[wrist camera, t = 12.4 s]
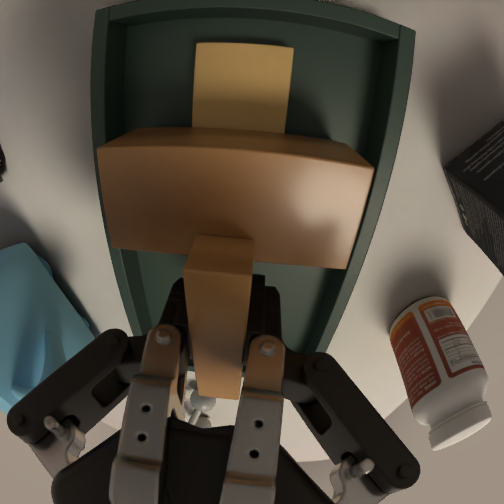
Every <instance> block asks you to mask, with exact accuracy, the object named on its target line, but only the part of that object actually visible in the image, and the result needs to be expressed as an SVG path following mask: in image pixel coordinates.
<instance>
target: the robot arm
mask: <svg viewBox="0 0 504 504" xmlns="http://www.w3.org/2000/svg"><path fill="white" fill-rule="evenodd" d="M280 304H281V302H280V294H279V292H278V290H277V289H276V287H274V286H265V275H262V274H253V275H252V285H251V294H250V304H249V313H248V322H247V331H246V340H245V350H244V359H243V365H244V366H246V370H245V376H244V381H243V387H242V390H241V395H240V401H239V406H238V411H237V417H236V422H235V426H233V425H229V426H221V427H212V428H200V427H197V426H195V425H192V424H190V423H187V422H185V421H184V400H185V390H186V379H187V367H188V362H189V359H191V360H193V356H192V348H191V341H190V333H189V325H188V317H187V308H186V299H185V289H184V278H181V277H180V278H179V279H178V280H177V281H176V282H175V283H174V284H173V285H172V288H171V291H170V294H169V296H168V300H167V301H166V304H165V307H164V310H163V312H162V315H161V318H160V321H159V323H158V325H157V326H154V327H153V328H152V329H151V330H150V331H149V332H148V334H146V335H142V336H133V337H128V336H127V334H126V333H125V332H124V331H122V330H120V329H109V330H107V331H105V332H103V333H102V334H101V335H99V336H98V337H97V338H96V339H94V340H93V341H92V342H90V343H89V344H88V345H87V346H85V347H84V348H83V349H82V350H80V351H79V352H78V353H77V354H75V355H74V356H73V357H72V358H70V359H69V360H68V361H67V362H66V363H64V364H63V365H62V366H61V367H59V368H58V369H57V370H56V371H54V372H53V373H52V374H51V375H50V376H48V377H47V378H46V379H45V380H44V381H42V382H41V383H40V384H39V385H38V386H36V387H35V388H34V389H33V390H32V391H30V392H29V393H28V394H27V395H26V396H24V397H23V398H22V399H21V400H20V401H19V402H17V403H16V404H15V405H14V406H13V407H12V408H11V409H10V410H9V412H8V415H7V424H8V427H9V429H10V430H11V432H12V433H14V434H15V435H16V436H18V437H19V438H21V439H22V440H23V441H24V442H25V443H27V444H28V445H29V446H30V447H31V448H32V450H33V452H34V453H35V455H36V456H37V457H38V459H39V460H40V462H41V463H42V464H43V466H44V467H45V468H46V470H47V471H48V472H49V474H50V475H51V476H52V477H53V482H52V486H51V494H52V499H53V503H54V504H378V503H379V502H380V501H381V500H383V499H384V498H385V497H386V496H388V495H389V494H391V493H395V492H397V491H400V490H403V489H406V488H409V487H411V486H412V485H413V484H414V483H415V482H416V481H417V480H418V478H419V475H420V465H419V463H418V461H417V459H416V458H415V457H414V456H413V455H412V453H411V452H410V451H409V450H408V448H407V447H406V446H405V445H404V444H403V442H402V441H401V440H400V439H399V438H398V436H397V435H396V434H395V433H394V431H393V430H392V429H391V428H390V427H389V425H388V424H387V423H386V422H385V420H384V419H383V418H382V417H381V415H380V414H379V413H378V412H377V411H376V409H375V408H374V407H373V406H372V404H371V403H370V402H369V401H368V399H367V398H366V397H365V396H364V395H363V393H362V392H361V391H360V390H359V388H358V387H357V386H356V385H355V384H354V382H353V381H352V380H351V379H350V377H349V376H348V375H347V374H346V372H345V371H344V370H343V369H342V368H341V366H340V365H339V364H338V363H337V361H336V360H335V359H334V358H333V357H332V356H331V355H329V354H327V353H324V352H313V353H311V354H309V355H308V356H305V355H302V354H299V353H296V352H293V351H292V350H290V349H289V348H288V347H287V346H286V345H285V344H284V342H283V339H282V324H281V305H280ZM127 395H128V397H127V401H126V406H125V412H124V417H123V422H122V428H121V429H120V430H119V431H117V432H116V433H115V434H113V435H112V436H110V437H109V438H108V439H106V440H105V441H103V442H102V443H101V444H99V445H98V446H96V447H95V448H93V449H92V450H90V451H89V452H87V453H86V454H85V455H83V456H82V457H80V458H79V459H78V457H79V454H80V452H81V451H82V450H83V449H84V448H85V442H86V441H85V434H86V433H87V432H88V431H89V430H90V429H91V428H93V427H94V426H95V425H96V424H97V423H98V422H99V421H100V420H101V419H102V418H104V417H105V416H106V415H107V414H108V413H109V412H110V411H111V410H112V409H113V408H114V407H115V406H117V405H118V404H119V403H120V402H121V401H122V400H123V399H124V398H125V397H126V396H127ZM284 398H285V399H288V400H291V403H292V404H293V406H294V407H295V409H296V410H297V412H298V413H299V415H300V416H301V418H302V419H303V420H304V422H305V423H306V425H307V426H308V428H309V429H310V431H311V432H312V434H313V435H314V436H315V438H316V439H317V441H318V442H319V444H320V445H321V446H322V448H323V449H324V451H325V452H326V453H327V455H328V456H329V458H330V459H331V460H332V462H333V463H334V464H335V466H334V467H333V469H332V470H331V473H330V482H331V484H332V486H333V489H334V495H333V498H332V500H331V499H330V498H329V497H328V496H327V495H326V494H325V493H324V492H323V491H322V490H321V489H320V487H319V486H318V485H317V484H316V483H315V482H314V481H313V480H312V479H311V478H310V477H309V476H308V475H307V474H306V473H305V471H304V470H303V469H302V468H301V467H300V466H299V465H298V463H297V462H296V461H295V460H294V459H293V458H292V457H291V455H290V454H289V453H288V452H287V451H286V450H285V449H284V447H282V446H281V445H280V435H281V424H282V413H283V402H284Z"/></svg>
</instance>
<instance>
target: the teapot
mask: <svg viewBox="0 0 504 504" xmlns="http://www.w3.org/2000/svg"><path fill="white" fill-rule="evenodd" d="M52 276H53V273H52V270H51V268H50V266H49V264H48V263H47V262H46V261H45V260H44V259H43V258H42V257H40V256H37V255H36V254H35V253H34V252H33V250H32V249H31V248H30V247H29V246H28V245H27V244H26V243H19V244H16V245H12V246H10V247H7V248H4V249H2V250H0V410H2V411H3V412H4V413H5V414H7V415H8V412H9V410H10V409H11V408H12V407H13V406H14V405H15V404H16V403H17V402H19V401H20V400H21V399H22V398H23V397H24V396H26V395H27V394H28V393H29V392H30V391H32V390H33V389H34V388H35V387H36V386H38V385H39V384H40V383H41V382H42V381H44V380H45V379H46V378H47V377H48V376H50V375H51V374H52V373H53V372H54V371H56V370H57V369H58V368H59V367H61V366H62V365H63V364H64V363H66V362H67V361H68V360H69V359H70V358H72V357H73V356H74V355H75V354H77V353H78V352H79V351H80V350H82V349H83V348H84V347H85V346H87V345H88V344H89V343H90V342H92V341H93V340H94V339H95V337H94V336H93V335H92V333H91V332H90V330H89V329H90V325H89V323H88V321H87V320H86V319H85V318H84V317H83V316H81V315H80V314H78V313H77V312H76V310H75V309H74V308H73V306H72V305H71V303H70V302H69V301H68V299H67V298H66V296H65V295H64V294H63V292H62V291H61V290H60V288H59V287H58V285H57V284H56V283H55V281H54V280H53V278H52Z"/></svg>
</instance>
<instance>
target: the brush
mask: <svg viewBox="0 0 504 504" xmlns="http://www.w3.org/2000/svg"><path fill="white" fill-rule="evenodd" d="M97 157H98V167H99V175H100V183H101V190H102V197H103V203H104V209H105V215H106V220H107V226H108V231H109V236H110V241H111V245H112V248H118V249H128V250H138V251H148V252H158V253H168V254H178V255H188V258H187V260H186V263H185V266H184V268H183V278H184V289H185V299H186V308H187V317H188V325H189V333H190V341H191V348H192V356H193V362H194V369H195V376H196V382H197V388H198V394H199V395H200V396H206V397H214V398H223V399H234V400H238V399H239V395H240V386H241V377H242V368H243V359H244V350H245V340H246V331H247V322H248V313H249V304H250V294H251V285H252V275H253V262H264V263H275V264H287V265H298V266H310V267H322V268H334V269H346V267H347V264H348V261H349V258H350V255H351V252H352V249H353V245H354V242H355V239H356V236H357V232H358V229H359V226H360V222H361V219H362V215H363V212H364V208H365V205H366V201H367V197H368V193H369V189H370V186H371V182H372V178H373V173H374V167H373V166H372V165H371V164H369V163H368V162H367V161H366V160H365V159H364V158H363V157H361V156H360V155H359V154H358V153H357V152H356V151H354V150H353V149H352V148H351V147H350V146H348V145H347V144H346V143H342V142H337V141H334V140H332V139H326V138H320V137H314V136H307V135H300V134H292V133H285V134H283V133H274V132H264V131H253V130H240V129H224V128H197V127H192V126H154V127H152V128H137V129H135V130H133V131H131V132H129V133H126V134H124V135H122V136H120V137H118V138H116V139H114V140H112V141H110V142H108V143H106V144H104V145H102V146H100V147H99V148H97Z"/></svg>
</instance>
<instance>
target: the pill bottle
mask: <svg viewBox="0 0 504 504" xmlns="http://www.w3.org/2000/svg"><path fill="white" fill-rule="evenodd" d="M390 341H391V345H392V348H393V351H394V354H395V357H396V360H397V363H398V366H399V369H400V372H401V375H402V378H403V382H404V385H405V388H406V392H407V395H408V399H409V402H410V406H411V409H412V413H413V415H414V418H415V420H416V421H417V422H418V423H419V424H421V425H425V426H430V427H431V431H430V432H429V435H430V436H429V440H430V444H431V448H432V450H433V451H435V450H440V449H443V448H445V447H448V446H450V445H453V444H455V443H457V442H459V441H461V440H463V439H465V438H467V437H469V436H470V435H472V434H474V433H475V432H477V431H478V430H480V429H481V428H482V427H484V426H485V425H486V424H488V423H489V422H490V421H491V419H492V415H491V412H490V409H489V407H488V405H487V402H486V401H483V399H482V396H483V395H484V393H485V392H486V389H487V386H488V376H487V373H486V371H485V369H484V366H483V364H482V362H481V360H480V358H479V356H478V354H477V352H476V350H475V348H474V346H473V344H472V341H471V340H470V338H469V336H468V334H467V332H466V330H465V328H464V326H463V324H462V323H461V321H460V319H459V317H458V315H457V314H456V312H455V310H454V308H453V307H452V305H451V304H450V302H449V301H448V300H446V299H445V298H442V297H428V298H424V299H421V300H419V301H417V302H415V303H414V304H412V305H410V306H409V307H408V308H406V309H405V310H404V311H403V312H402V313H401V314H400V315H399V316H398V317H397V318H396V320H395V321H394V323H393V325H392V327H391V329H390Z"/></svg>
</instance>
